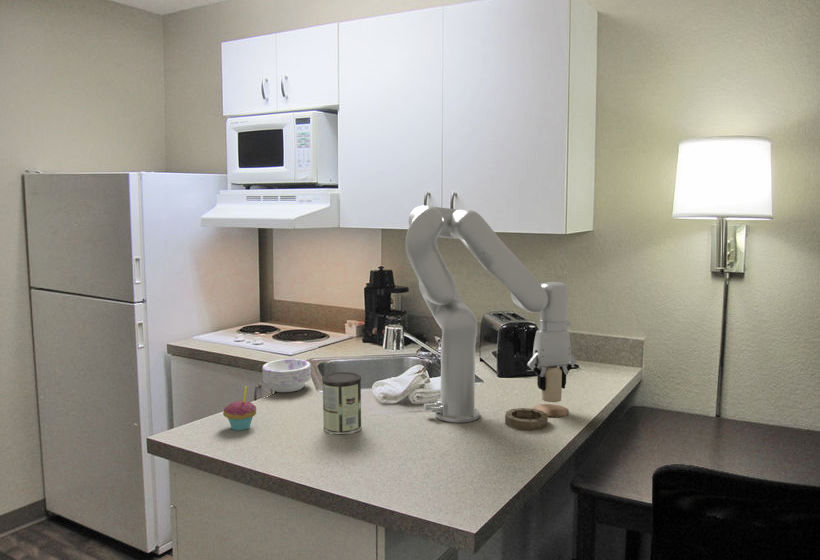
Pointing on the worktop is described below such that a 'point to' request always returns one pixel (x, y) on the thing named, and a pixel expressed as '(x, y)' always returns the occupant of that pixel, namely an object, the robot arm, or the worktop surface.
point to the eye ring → (530, 425)
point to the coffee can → (342, 403)
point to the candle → (552, 384)
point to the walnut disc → (552, 410)
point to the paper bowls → (286, 374)
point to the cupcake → (240, 413)
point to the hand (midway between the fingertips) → (551, 387)
